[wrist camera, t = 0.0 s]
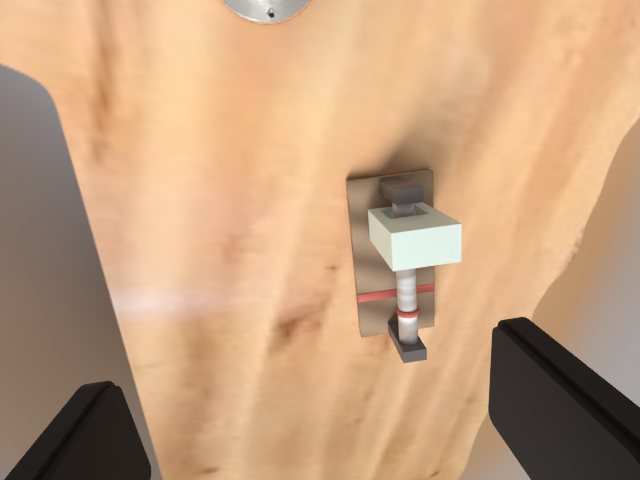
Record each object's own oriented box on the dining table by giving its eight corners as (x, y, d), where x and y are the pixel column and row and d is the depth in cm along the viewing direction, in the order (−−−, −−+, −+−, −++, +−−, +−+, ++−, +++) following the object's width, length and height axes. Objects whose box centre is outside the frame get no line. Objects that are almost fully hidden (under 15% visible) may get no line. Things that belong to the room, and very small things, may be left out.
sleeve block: (367, 209, 42) (390, 233, 33) (422, 202, 42) (461, 223, 33) (369, 239, 43) (392, 271, 34) (423, 232, 44) (461, 261, 34)
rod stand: (345, 180, 44) (358, 191, 36) (429, 169, 44) (459, 178, 36) (359, 332, 51) (372, 370, 43) (431, 322, 51) (457, 357, 43)
